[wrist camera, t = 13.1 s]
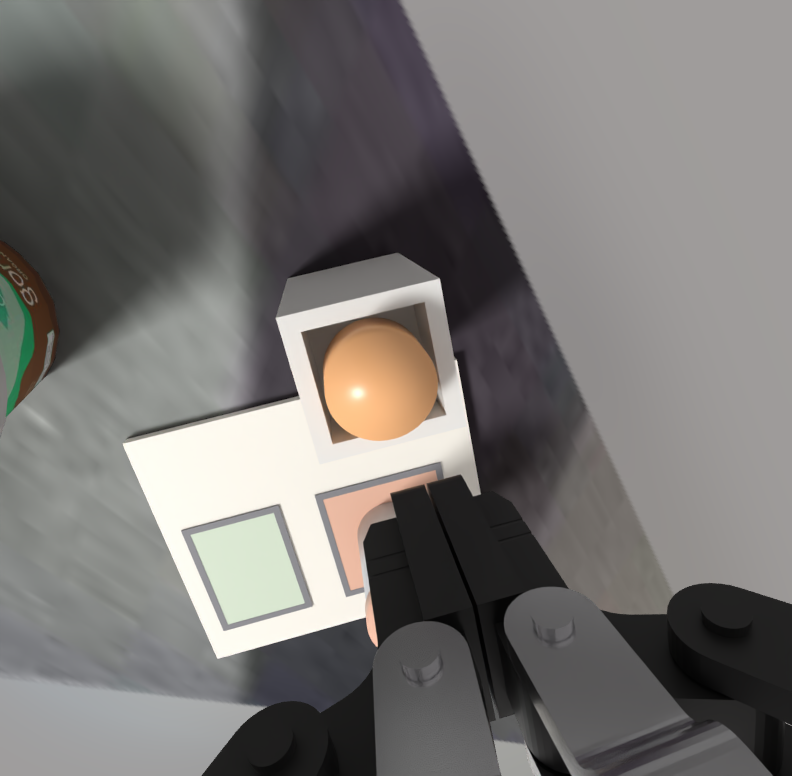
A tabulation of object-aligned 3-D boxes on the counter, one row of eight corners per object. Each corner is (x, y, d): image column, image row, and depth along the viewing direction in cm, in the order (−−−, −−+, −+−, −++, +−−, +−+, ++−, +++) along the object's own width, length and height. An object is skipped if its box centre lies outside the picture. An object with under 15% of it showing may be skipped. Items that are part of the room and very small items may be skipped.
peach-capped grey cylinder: (347, 511, 33) (357, 597, 26) (420, 492, 33) (450, 571, 26) (365, 571, 34) (378, 666, 27) (434, 552, 35) (465, 642, 28)
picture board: (126, 439, 30) (121, 444, 29) (454, 356, 31) (457, 360, 30) (219, 651, 35) (217, 660, 35) (493, 574, 37) (496, 581, 36)
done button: (311, 331, 20) (310, 349, 18) (413, 306, 20) (426, 320, 18) (337, 425, 22) (340, 452, 19) (432, 401, 22) (446, 425, 20)
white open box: (287, 278, 28) (275, 317, 19) (397, 252, 29) (439, 278, 19) (317, 382, 30) (319, 464, 21) (419, 357, 31) (466, 426, 21)
